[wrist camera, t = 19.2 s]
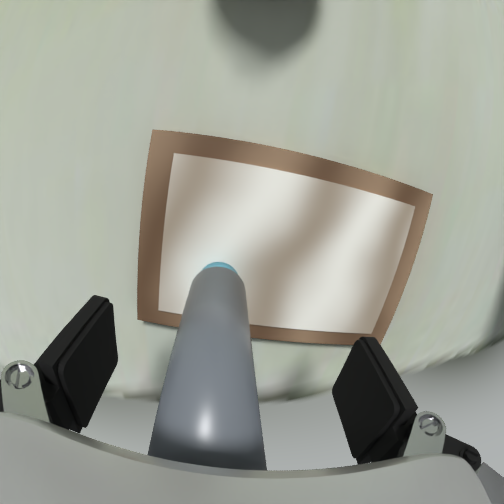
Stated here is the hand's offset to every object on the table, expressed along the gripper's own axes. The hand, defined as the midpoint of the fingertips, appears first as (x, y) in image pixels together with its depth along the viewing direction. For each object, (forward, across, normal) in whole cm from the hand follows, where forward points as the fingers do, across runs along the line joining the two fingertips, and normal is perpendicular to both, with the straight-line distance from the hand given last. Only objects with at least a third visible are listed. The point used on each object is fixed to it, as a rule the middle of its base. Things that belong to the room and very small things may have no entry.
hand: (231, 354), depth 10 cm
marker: (+7, +1, 0) cm, 7 cm away
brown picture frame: (+8, -3, -2) cm, 9 cm away
